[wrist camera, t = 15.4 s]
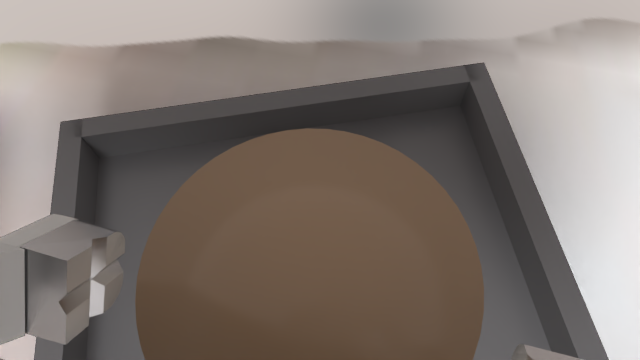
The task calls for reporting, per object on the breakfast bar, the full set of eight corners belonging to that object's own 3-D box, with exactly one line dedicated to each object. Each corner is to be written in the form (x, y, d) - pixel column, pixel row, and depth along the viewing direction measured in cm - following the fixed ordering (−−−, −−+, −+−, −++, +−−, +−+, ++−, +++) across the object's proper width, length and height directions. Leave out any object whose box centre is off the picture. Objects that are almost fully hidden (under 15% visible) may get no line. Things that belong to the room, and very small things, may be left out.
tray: (467, 102, 21) (483, 62, 19) (679, 660, 12) (755, 708, 10) (90, 156, 20) (60, 121, 18) (43, 799, 11) (-26, 886, 9)
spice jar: (388, 247, 17) (431, 109, 10) (433, 434, 14) (538, 432, 7) (220, 274, 16) (137, 151, 9) (234, 471, 14) (131, 508, 7)
